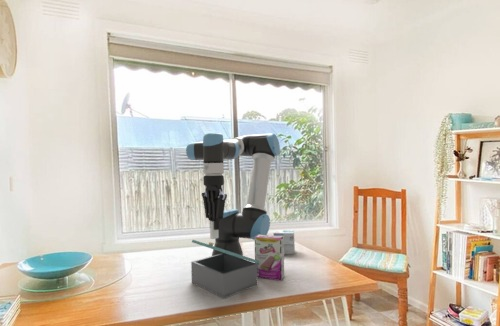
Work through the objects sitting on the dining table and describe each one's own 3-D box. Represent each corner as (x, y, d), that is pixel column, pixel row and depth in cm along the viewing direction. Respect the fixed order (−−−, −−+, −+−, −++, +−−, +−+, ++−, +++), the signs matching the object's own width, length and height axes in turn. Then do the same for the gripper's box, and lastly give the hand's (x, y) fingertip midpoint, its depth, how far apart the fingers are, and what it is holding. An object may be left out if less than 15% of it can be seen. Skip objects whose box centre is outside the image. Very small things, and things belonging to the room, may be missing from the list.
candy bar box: (254, 278, 119) (253, 236, 120) (258, 273, 124) (257, 234, 124) (282, 281, 116) (281, 238, 116) (284, 276, 121) (284, 235, 121)
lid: (191, 242, 117) (193, 237, 117) (223, 252, 127) (224, 247, 128) (225, 253, 102) (226, 247, 102) (257, 263, 112) (259, 258, 113)
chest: (191, 282, 116) (191, 261, 116) (224, 271, 127) (223, 252, 127) (223, 298, 101) (223, 275, 101) (257, 285, 112) (256, 263, 112)
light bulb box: (294, 250, 156) (294, 229, 156) (295, 254, 150) (294, 232, 150) (273, 250, 158) (273, 229, 158) (273, 254, 151) (273, 232, 151)
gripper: (195, 174, 114) (196, 237, 114) (215, 175, 104) (216, 243, 104) (211, 174, 119) (212, 233, 119) (232, 174, 109) (233, 239, 109)
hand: (214, 238), depth 111 cm, fingers closed
